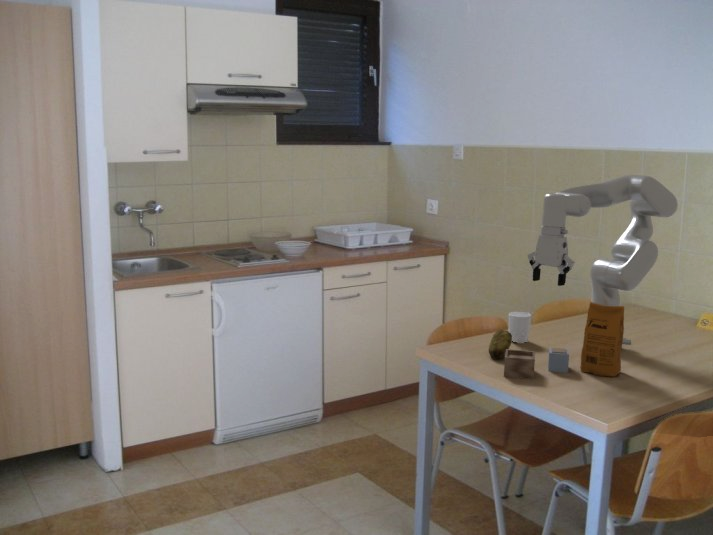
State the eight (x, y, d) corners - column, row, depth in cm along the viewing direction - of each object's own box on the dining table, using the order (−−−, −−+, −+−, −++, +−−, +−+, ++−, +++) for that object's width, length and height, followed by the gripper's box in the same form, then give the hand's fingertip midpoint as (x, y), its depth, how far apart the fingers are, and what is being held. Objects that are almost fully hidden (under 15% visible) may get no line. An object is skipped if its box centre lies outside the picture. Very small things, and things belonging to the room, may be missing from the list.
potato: (478, 357, 250) (479, 334, 248) (497, 349, 259) (498, 326, 258) (500, 362, 244) (501, 338, 243) (519, 353, 254) (520, 331, 253)
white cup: (528, 338, 273) (529, 312, 271) (530, 344, 265) (532, 317, 264) (506, 337, 274) (507, 311, 272) (508, 343, 266) (509, 316, 264)
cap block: (567, 367, 240) (568, 348, 239) (567, 372, 234) (569, 353, 233) (548, 365, 242) (549, 346, 240) (548, 371, 236) (549, 352, 235)
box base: (533, 370, 236) (534, 351, 235) (533, 379, 228) (534, 359, 227) (504, 367, 238) (505, 349, 237) (503, 376, 230) (504, 357, 229)
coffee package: (586, 364, 244) (590, 298, 240) (624, 371, 236) (630, 303, 233) (575, 371, 236) (580, 303, 232) (615, 379, 228) (620, 309, 225)
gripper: (582, 234, 240) (577, 286, 242) (537, 228, 252) (533, 277, 255) (569, 235, 235) (564, 288, 238) (524, 229, 247) (520, 279, 250)
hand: (548, 282), depth 246 cm, fingers open, 9 cm apart
